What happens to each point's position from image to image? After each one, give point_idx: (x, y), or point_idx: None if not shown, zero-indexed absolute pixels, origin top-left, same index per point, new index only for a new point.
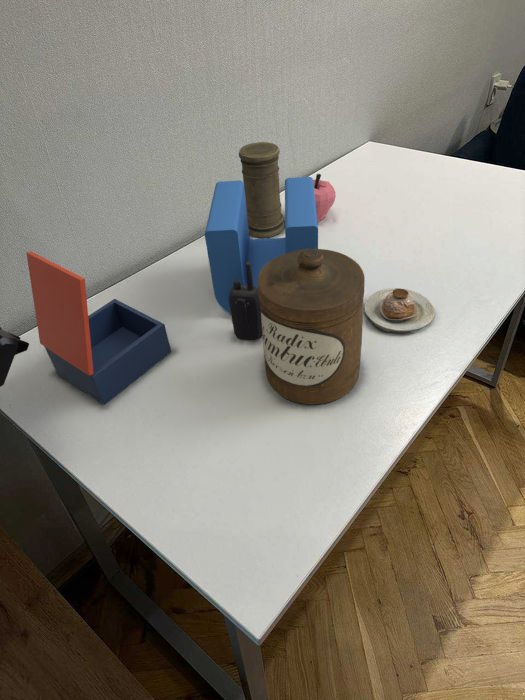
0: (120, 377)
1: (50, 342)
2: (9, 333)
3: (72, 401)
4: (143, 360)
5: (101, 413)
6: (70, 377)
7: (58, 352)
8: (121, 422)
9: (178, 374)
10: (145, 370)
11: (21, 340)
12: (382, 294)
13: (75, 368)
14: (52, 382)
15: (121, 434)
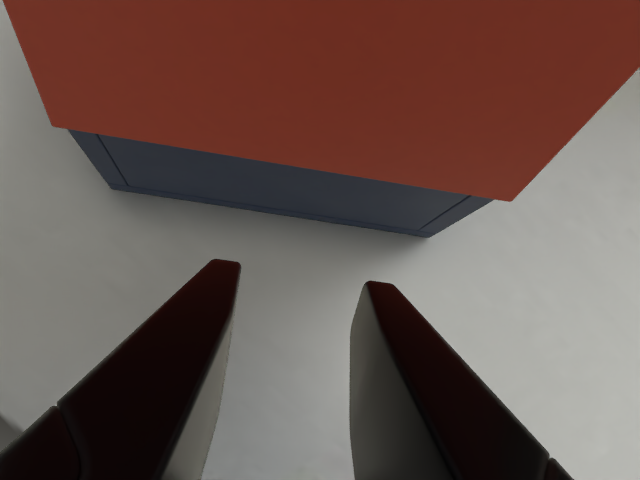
0: None
1: (175, 108)
2: (220, 328)
3: (301, 279)
4: None
5: (448, 272)
6: (234, 196)
7: (250, 145)
8: (540, 271)
9: None
10: None
11: (410, 329)
12: None
13: (350, 179)
14: (136, 239)
15: (579, 312)
